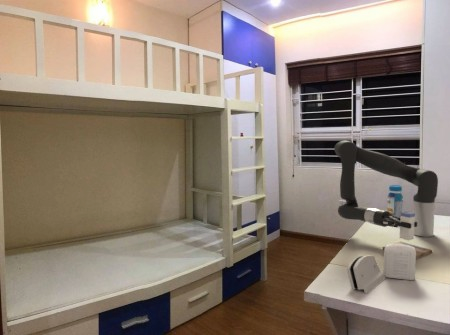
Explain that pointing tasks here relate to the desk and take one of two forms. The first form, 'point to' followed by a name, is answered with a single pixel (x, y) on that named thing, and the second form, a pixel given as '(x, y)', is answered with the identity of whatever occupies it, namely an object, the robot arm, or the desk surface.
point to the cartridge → (406, 232)
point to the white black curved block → (364, 273)
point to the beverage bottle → (395, 200)
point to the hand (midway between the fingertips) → (413, 225)
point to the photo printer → (399, 261)
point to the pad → (417, 250)
